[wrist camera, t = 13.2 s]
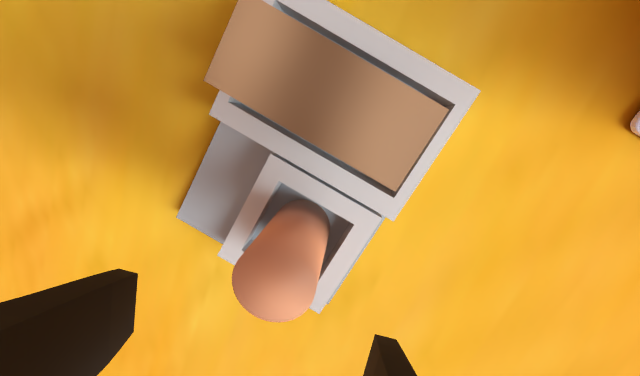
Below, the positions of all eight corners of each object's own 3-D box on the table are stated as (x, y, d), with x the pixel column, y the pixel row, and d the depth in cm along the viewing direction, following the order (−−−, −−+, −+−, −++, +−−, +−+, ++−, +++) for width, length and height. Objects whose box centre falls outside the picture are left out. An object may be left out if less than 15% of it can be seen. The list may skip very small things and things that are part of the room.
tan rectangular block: (420, 112, 16) (449, 109, 11) (383, 169, 17) (395, 191, 12) (278, 29, 16) (242, -11, 11) (249, 91, 17) (203, 80, 12)
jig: (461, 95, 16) (480, 90, 14) (329, 297, 20) (325, 323, 17) (286, -8, 16) (273, -31, 14) (183, 213, 20) (157, 227, 17)
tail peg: (341, 225, 18) (333, 283, 12) (305, 263, 19) (279, 337, 12) (298, 188, 18) (266, 226, 11) (263, 227, 18) (215, 284, 12)
